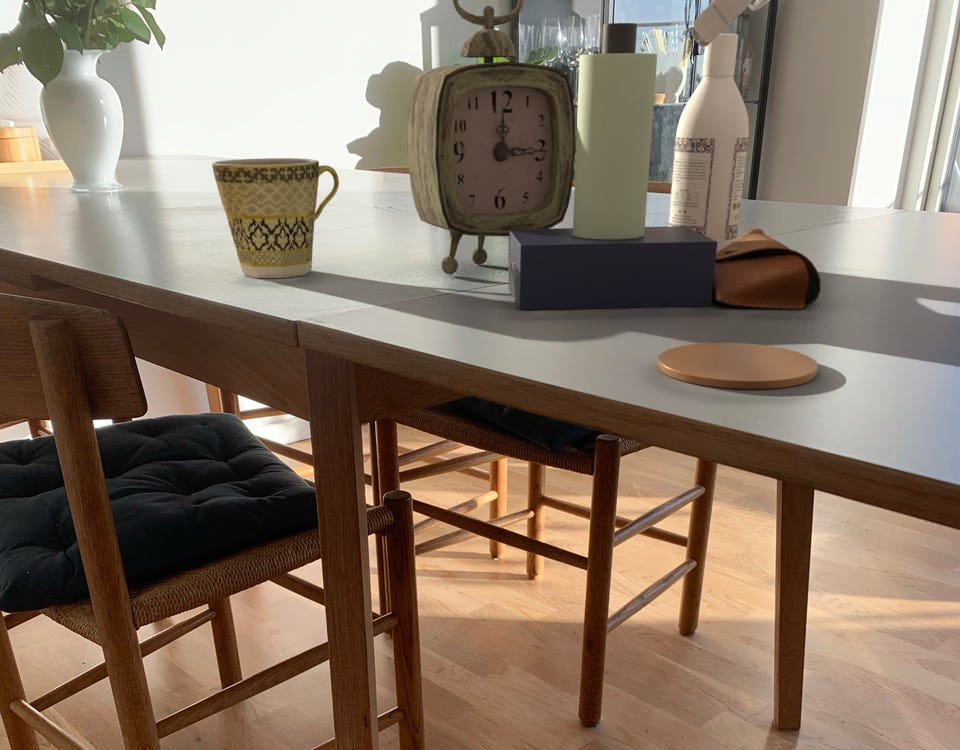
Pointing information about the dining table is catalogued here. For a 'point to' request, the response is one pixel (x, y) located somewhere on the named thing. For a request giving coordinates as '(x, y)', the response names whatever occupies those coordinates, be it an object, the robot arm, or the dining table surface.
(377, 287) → the dining table surface
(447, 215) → the tabletop clock
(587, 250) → the navy case
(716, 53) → the bath foam
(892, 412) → the dining table surface
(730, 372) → the coaster
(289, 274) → the ceramic cup
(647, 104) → the bottle
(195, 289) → the dining table surface
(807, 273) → the sunglasses case
